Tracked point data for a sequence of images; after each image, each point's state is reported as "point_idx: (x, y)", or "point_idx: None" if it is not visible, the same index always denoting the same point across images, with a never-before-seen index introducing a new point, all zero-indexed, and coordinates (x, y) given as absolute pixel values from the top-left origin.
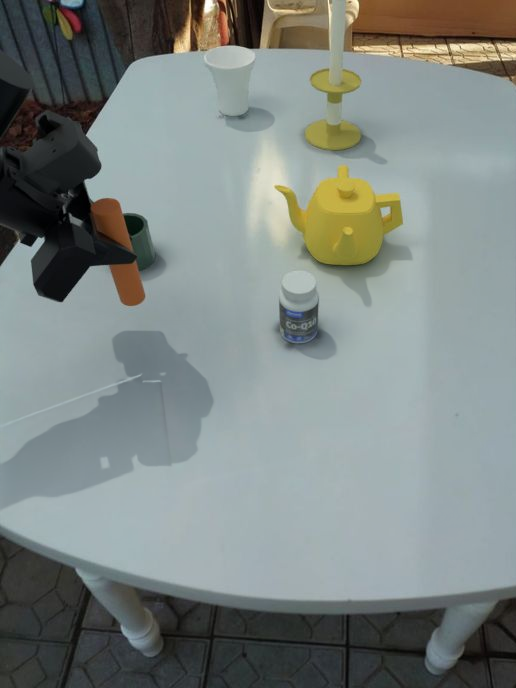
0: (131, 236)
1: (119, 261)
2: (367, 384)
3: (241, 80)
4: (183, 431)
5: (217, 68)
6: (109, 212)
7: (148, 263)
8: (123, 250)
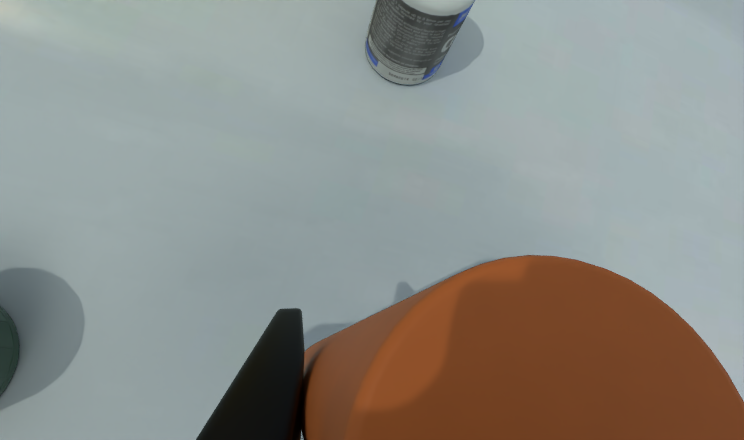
0: (281, 309)
1: None
2: (549, 8)
3: None
4: None
5: None
6: (726, 427)
7: (7, 319)
8: None
